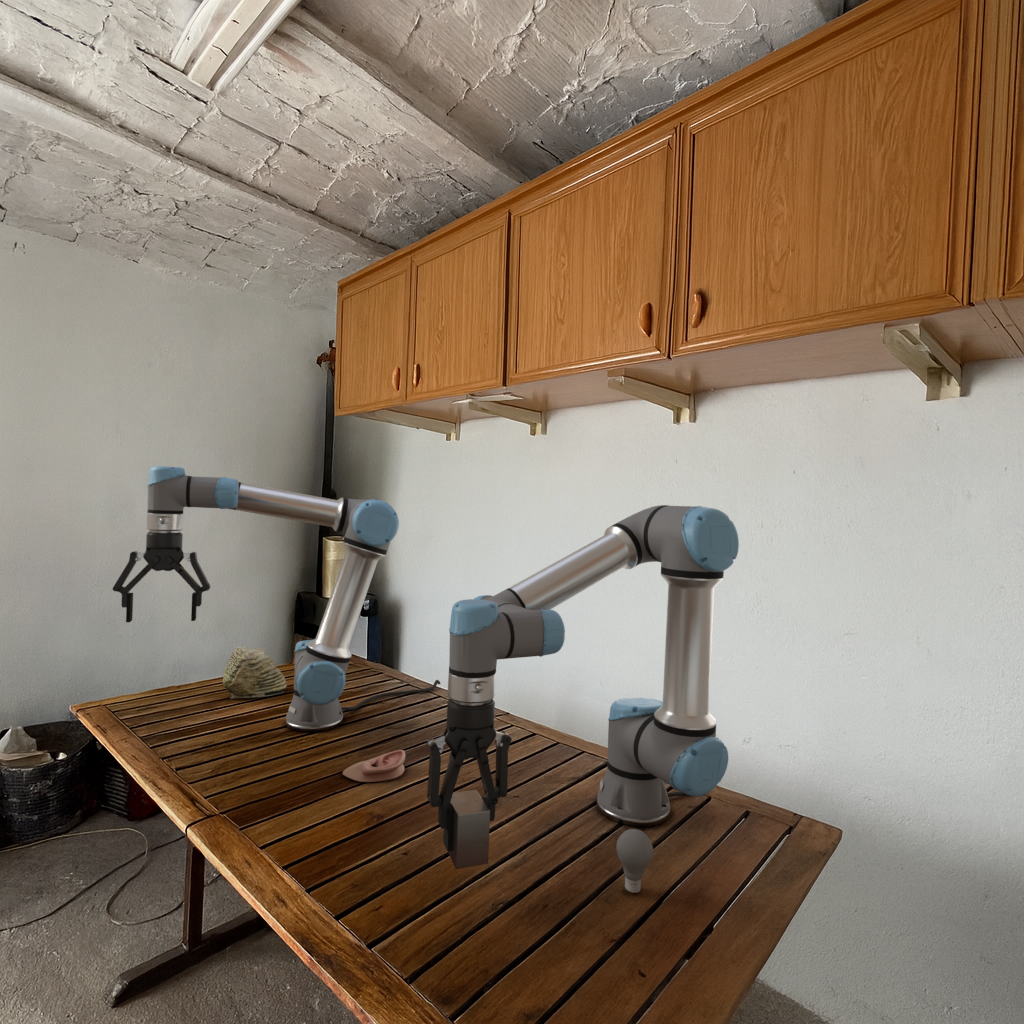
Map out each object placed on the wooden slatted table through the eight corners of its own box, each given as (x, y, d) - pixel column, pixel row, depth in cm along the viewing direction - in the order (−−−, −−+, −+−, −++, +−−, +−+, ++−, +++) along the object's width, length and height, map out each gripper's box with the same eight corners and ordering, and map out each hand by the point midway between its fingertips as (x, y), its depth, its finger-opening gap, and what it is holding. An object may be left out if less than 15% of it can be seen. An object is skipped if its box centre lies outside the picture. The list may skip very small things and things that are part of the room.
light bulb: (610, 879, 108) (613, 822, 108) (644, 879, 109) (647, 822, 109) (619, 902, 102) (622, 840, 102) (655, 901, 103) (658, 840, 103)
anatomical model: (336, 761, 142) (359, 742, 153) (336, 778, 142) (358, 758, 153) (392, 768, 139) (411, 749, 151) (391, 786, 139) (410, 765, 151)
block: (455, 869, 96) (457, 815, 96) (443, 844, 103) (445, 793, 103) (488, 863, 98) (490, 810, 98) (474, 839, 105) (476, 789, 105)
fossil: (218, 695, 195) (220, 647, 195) (278, 685, 208) (279, 640, 207) (228, 703, 189) (230, 653, 188) (289, 692, 201) (290, 645, 201)
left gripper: (99, 531, 142) (96, 625, 143) (221, 533, 151) (217, 622, 151) (108, 529, 149) (105, 618, 150) (223, 531, 158) (220, 616, 158)
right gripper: (419, 711, 94) (413, 866, 94) (533, 701, 100) (527, 847, 100) (409, 695, 101) (404, 840, 101) (516, 687, 107) (511, 823, 108)
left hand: (161, 620), depth 151 cm, fingers open, 13 cm apart
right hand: (465, 843), depth 101 cm, fingers closed on block, 5 cm apart
